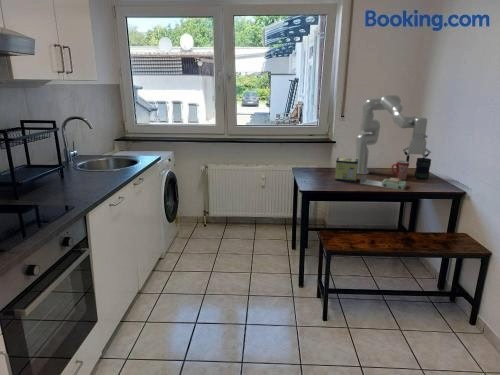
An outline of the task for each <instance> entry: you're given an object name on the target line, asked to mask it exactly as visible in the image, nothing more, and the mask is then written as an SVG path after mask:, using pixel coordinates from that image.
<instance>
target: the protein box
mask: <svg viewBox="0 0 500 375" xmlns="http://www.w3.org/2000/svg"><path fill="white" fill-rule="evenodd" d="M357 169H358V159H356V158H347V157H337V159H336V161H335V175H334V176H335V177H334V181H336V182H337V181H339V182H348V183H349V182H351V183H357V179H358V174H357Z"/></svg>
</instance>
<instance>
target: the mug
mask: <svg viewBox="0 0 500 375" xmlns="http://www.w3.org/2000/svg"><path fill="white" fill-rule="evenodd" d="M410 163H411V162H410V161H409V162H407V161H406V160H397V161H396V163H393V164H392V165H391V171H392V174H394V176H395V178H396V179H400V180H399V181H406V180H407V176H408V171H409V166H410ZM394 167H395V169H396V170H394Z"/></svg>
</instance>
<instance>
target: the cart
mask: <svg viewBox="0 0 500 375" xmlns="http://www.w3.org/2000/svg"><path fill="white" fill-rule="evenodd" d="M389 179H390V178H385V179H383V180H382V181H381V182H382V186H388V187H394V188H399V189H400V188H401V189H403V188H404V187H405V185H406V184H407V181H406V180H399V184H395V183H388V181H389ZM405 188H406V187H405ZM405 188H404V189H405ZM399 189H398V190H399Z"/></svg>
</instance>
